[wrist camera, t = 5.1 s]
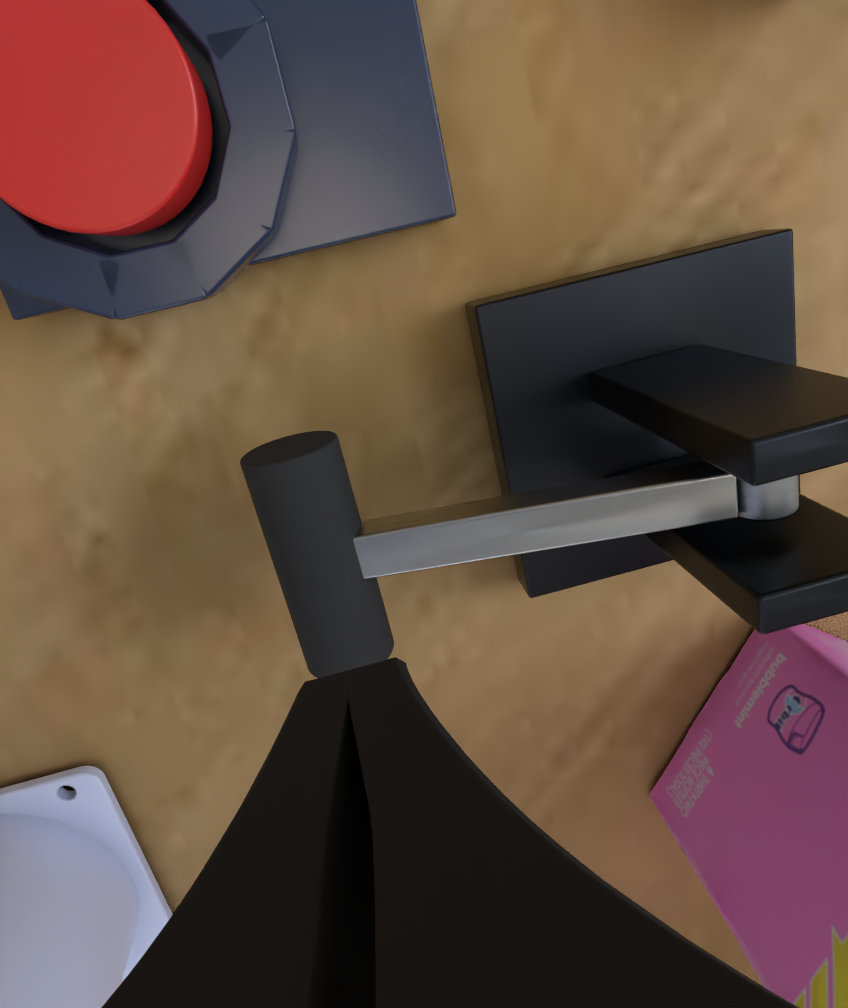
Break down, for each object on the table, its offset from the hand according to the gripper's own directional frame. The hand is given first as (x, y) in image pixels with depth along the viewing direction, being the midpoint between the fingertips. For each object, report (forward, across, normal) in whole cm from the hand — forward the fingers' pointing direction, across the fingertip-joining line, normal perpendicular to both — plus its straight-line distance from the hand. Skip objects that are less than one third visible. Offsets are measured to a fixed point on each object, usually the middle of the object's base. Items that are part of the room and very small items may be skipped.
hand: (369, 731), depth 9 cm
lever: (+6, -4, 0) cm, 7 cm away
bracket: (+10, -8, 0) cm, 13 cm away
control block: (+10, +1, -9) cm, 14 cm away
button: (+8, +2, -9) cm, 12 cm away
